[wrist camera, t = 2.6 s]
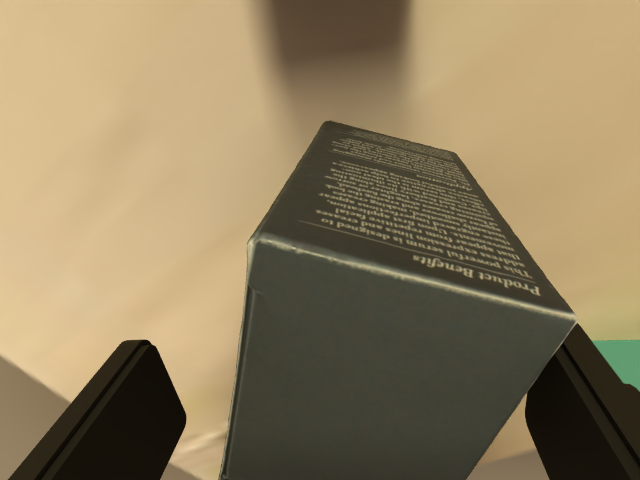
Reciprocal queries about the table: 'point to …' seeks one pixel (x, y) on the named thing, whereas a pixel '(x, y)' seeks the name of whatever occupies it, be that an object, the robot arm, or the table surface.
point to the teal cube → (622, 359)
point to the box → (383, 319)
